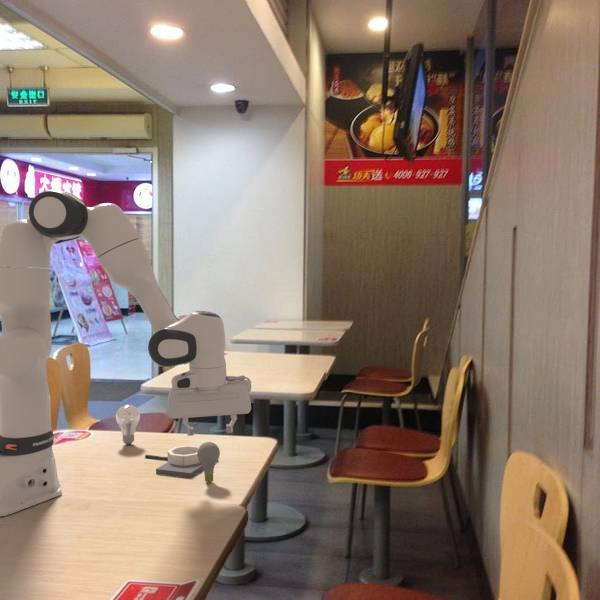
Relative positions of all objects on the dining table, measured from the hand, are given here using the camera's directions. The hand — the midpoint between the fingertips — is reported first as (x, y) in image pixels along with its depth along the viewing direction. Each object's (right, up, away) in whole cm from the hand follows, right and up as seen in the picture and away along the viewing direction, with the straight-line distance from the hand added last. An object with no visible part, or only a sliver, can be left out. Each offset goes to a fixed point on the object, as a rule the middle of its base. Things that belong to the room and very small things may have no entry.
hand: (210, 433), depth 152 cm
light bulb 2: (0, -12, +1) cm, 12 cm away
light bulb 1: (-29, -11, +33) cm, 45 cm away
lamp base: (-12, -11, +14) cm, 22 cm away
